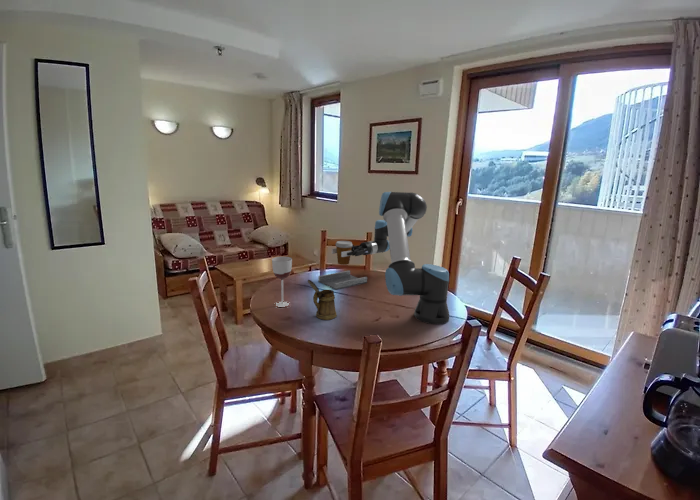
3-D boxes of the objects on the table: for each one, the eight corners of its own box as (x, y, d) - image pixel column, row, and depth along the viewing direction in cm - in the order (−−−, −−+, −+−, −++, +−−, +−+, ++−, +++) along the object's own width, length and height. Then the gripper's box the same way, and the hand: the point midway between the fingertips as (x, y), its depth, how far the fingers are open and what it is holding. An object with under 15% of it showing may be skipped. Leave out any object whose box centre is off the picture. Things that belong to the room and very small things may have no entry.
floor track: (348, 275, 218) (349, 270, 217) (366, 282, 205) (367, 277, 205) (318, 281, 204) (318, 276, 203) (335, 289, 192) (335, 284, 191)
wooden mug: (303, 316, 157) (303, 276, 153) (329, 310, 164) (330, 272, 160) (312, 324, 150) (313, 282, 146) (340, 317, 157) (341, 277, 153)
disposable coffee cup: (351, 265, 198) (352, 244, 195) (334, 265, 198) (334, 243, 195) (352, 261, 207) (352, 240, 204) (335, 260, 207) (336, 240, 204)
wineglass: (269, 307, 166) (268, 260, 161) (278, 300, 175) (277, 255, 170) (287, 309, 164) (286, 262, 159) (295, 302, 173) (295, 257, 168)
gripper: (379, 258, 205) (348, 263, 191) (356, 250, 221) (325, 255, 207) (380, 245, 203) (348, 249, 189) (356, 238, 219) (325, 242, 205)
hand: (336, 252), depth 198 cm, fingers closed on disposable coffee cup, 8 cm apart
